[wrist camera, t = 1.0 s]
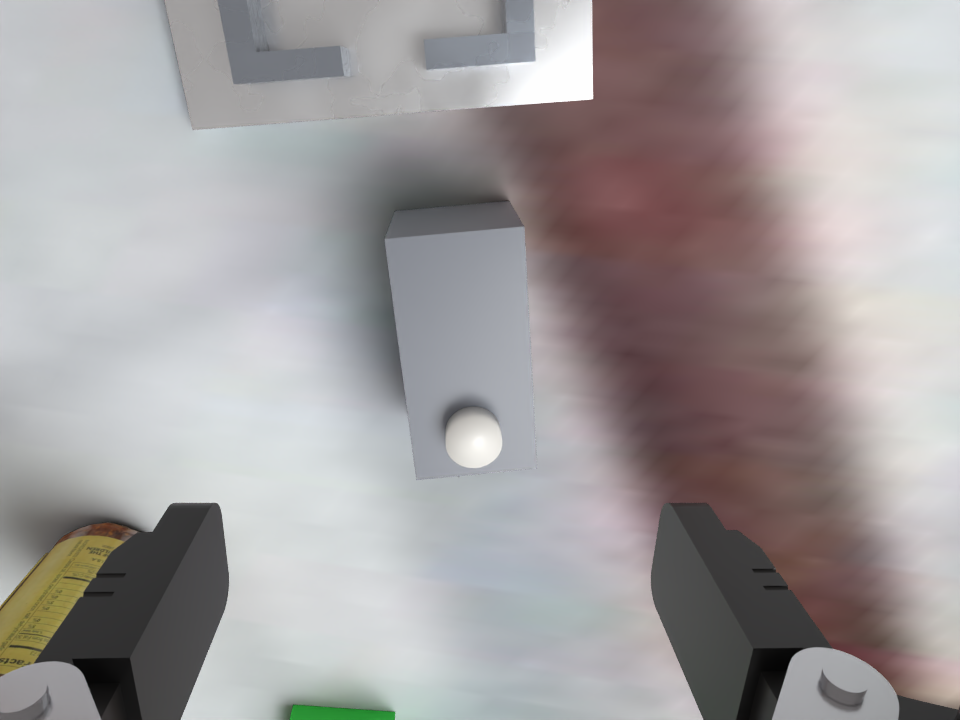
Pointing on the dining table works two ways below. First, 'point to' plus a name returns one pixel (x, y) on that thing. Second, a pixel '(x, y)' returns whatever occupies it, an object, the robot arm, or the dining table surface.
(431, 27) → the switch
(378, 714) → the mechanical part
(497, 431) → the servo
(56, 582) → the sauce bottle
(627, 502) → the dining table surface
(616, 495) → the dining table surface
